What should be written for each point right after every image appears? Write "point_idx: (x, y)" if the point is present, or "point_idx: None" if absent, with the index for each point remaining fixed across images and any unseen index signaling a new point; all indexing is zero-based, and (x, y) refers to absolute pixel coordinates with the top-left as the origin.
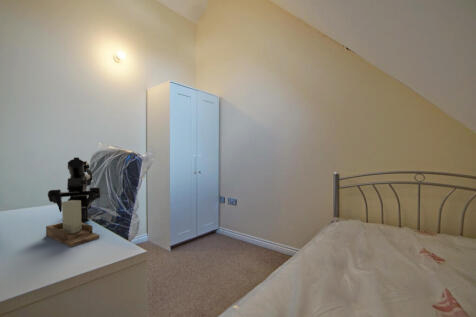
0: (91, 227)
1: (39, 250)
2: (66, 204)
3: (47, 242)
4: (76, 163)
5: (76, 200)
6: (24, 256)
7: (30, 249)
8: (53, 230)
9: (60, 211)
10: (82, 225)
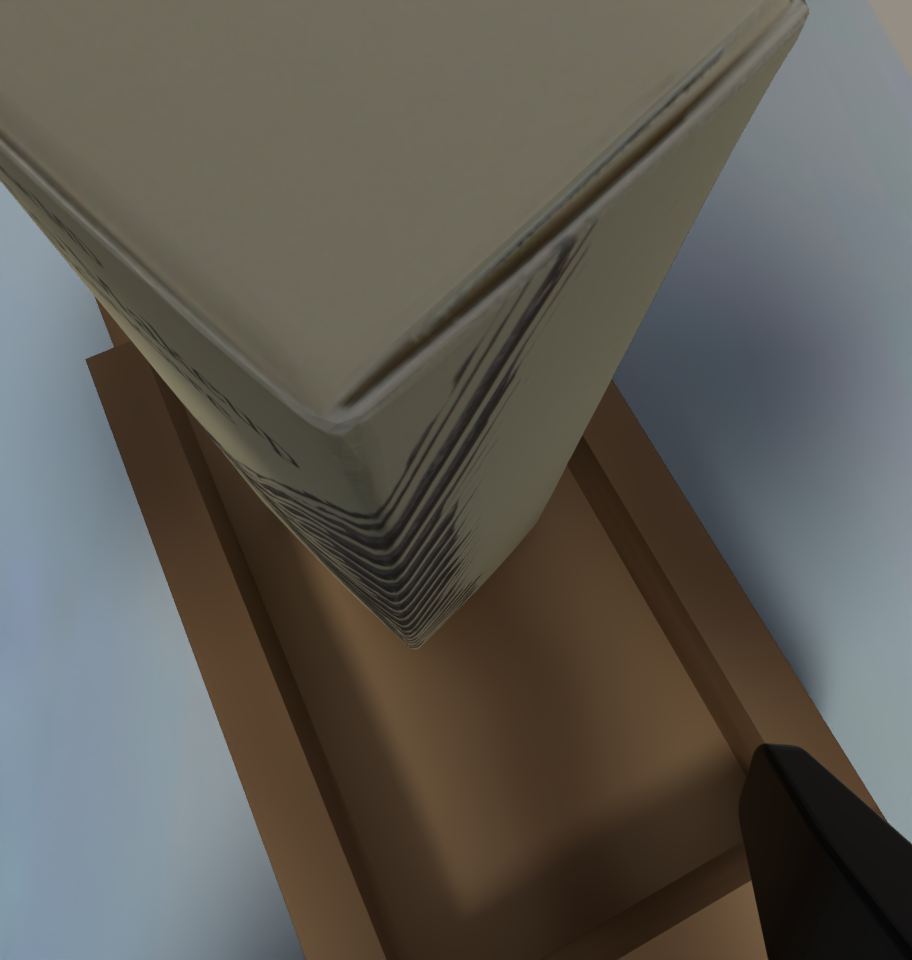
0: (112, 365)
1: (710, 231)
2: None
3: (697, 463)
4: None
5: (22, 38)
6: (802, 146)
7: (819, 312)
8: (695, 530)
9: (761, 761)
10: (234, 568)
